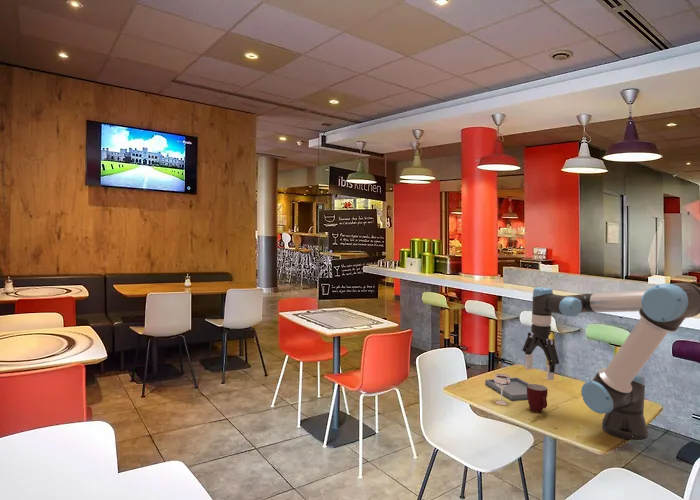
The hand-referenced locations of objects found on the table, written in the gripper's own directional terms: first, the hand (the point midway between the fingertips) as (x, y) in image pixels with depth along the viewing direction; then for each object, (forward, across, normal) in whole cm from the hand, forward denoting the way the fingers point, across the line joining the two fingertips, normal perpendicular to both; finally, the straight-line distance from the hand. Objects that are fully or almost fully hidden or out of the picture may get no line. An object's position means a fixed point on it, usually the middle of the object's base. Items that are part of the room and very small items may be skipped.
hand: (539, 374), depth 191 cm
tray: (+16, +24, -5) cm, 29 cm away
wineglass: (+16, +12, +10) cm, 22 cm away
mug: (+16, 0, 0) cm, 16 cm away
